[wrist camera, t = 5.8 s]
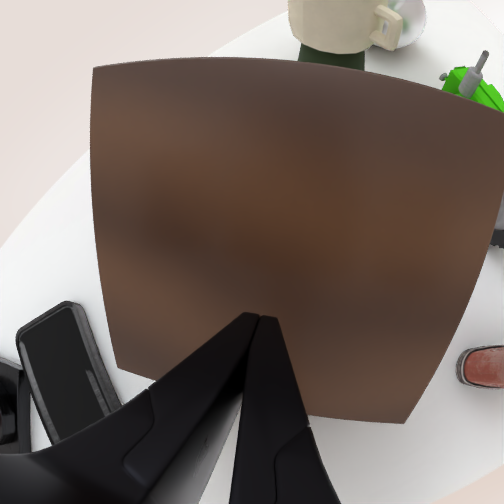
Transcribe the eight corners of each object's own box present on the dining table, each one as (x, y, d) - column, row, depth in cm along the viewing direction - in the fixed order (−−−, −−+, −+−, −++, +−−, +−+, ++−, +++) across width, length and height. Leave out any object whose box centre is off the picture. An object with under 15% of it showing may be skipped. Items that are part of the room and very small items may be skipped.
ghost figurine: (322, 23, 30) (325, -48, 20) (390, 19, 30) (402, -44, 20) (359, 70, 27) (374, -13, 17) (431, 63, 27) (456, -6, 17)
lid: (107, 68, 9) (92, 66, 8) (503, 116, 7) (516, 117, 6) (125, 357, 14) (117, 368, 13) (402, 410, 12) (404, 424, 11)
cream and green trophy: (396, 104, 25) (434, -11, 13) (348, 141, 25) (377, 8, 12) (312, 46, 28) (314, -60, 16) (260, 75, 28) (245, -43, 15)
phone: (79, 497, 17) (12, 332, 22) (86, 493, 18) (20, 333, 23) (154, 482, 17) (73, 294, 22) (160, 477, 19) (81, 297, 23)
